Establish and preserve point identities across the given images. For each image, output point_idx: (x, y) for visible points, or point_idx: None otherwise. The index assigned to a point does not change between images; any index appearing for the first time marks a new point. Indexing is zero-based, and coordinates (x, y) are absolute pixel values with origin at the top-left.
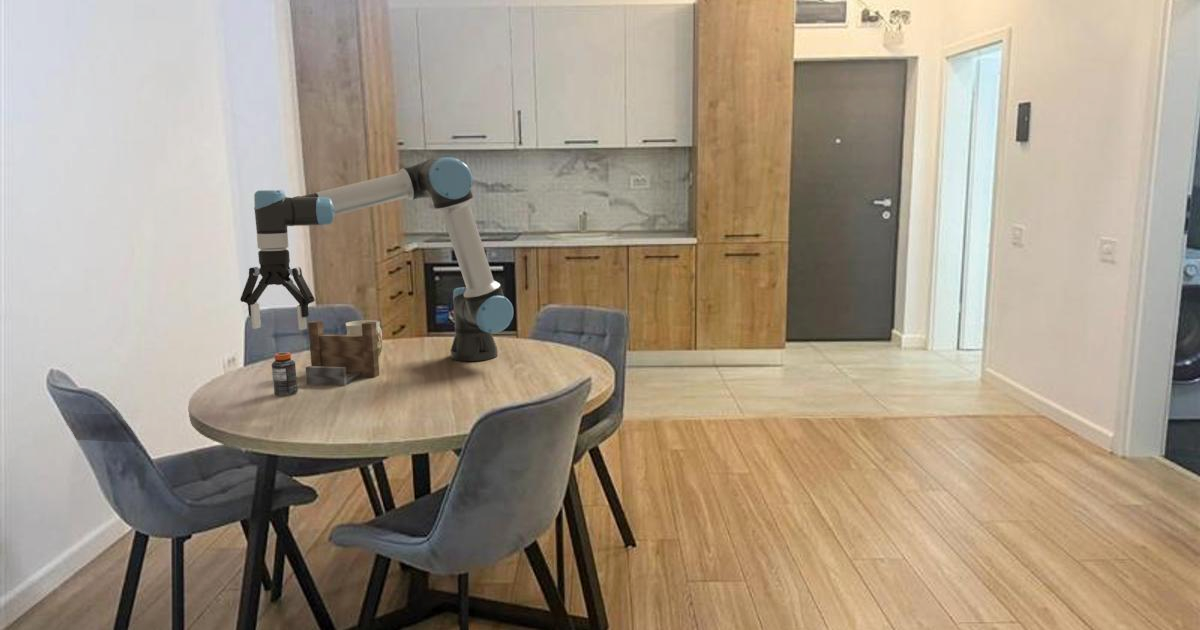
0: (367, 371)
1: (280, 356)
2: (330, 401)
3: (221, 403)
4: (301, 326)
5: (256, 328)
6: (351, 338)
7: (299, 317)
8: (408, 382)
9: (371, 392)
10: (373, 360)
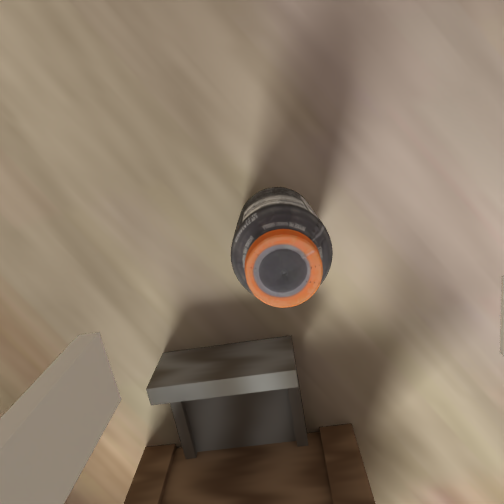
0: (162, 459)
1: (266, 237)
2: (64, 191)
3: (424, 44)
4: (64, 355)
5: (501, 296)
6: None
7: (22, 404)
8: None
9: (26, 313)
10: (127, 494)
